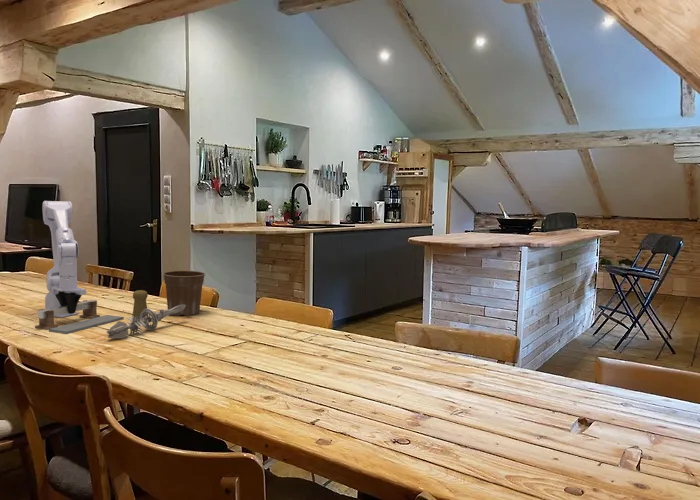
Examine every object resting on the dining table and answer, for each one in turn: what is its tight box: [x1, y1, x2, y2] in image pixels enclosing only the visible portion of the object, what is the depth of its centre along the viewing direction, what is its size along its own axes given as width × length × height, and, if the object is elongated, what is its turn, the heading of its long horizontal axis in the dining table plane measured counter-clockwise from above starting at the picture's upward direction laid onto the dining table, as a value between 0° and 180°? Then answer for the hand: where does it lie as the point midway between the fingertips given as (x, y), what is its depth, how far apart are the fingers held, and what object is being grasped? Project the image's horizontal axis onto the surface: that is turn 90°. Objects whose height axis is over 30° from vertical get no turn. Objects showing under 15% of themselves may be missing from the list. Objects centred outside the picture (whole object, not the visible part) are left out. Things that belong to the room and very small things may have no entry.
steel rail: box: [36, 299, 98, 319], centre depth 203 cm, size 2×24×2 cm, turn 159°
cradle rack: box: [34, 300, 101, 331], centre depth 203 cm, size 6×23×6 cm, turn 159°
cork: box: [131, 289, 149, 320], centre depth 210 cm, size 6×6×11 cm
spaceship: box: [106, 304, 186, 339], centre depth 194 cm, size 8×35×8 cm
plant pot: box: [162, 270, 206, 317], centre depth 223 cm, size 16×16×16 cm
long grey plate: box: [48, 314, 125, 335], centre depth 200 cm, size 8×26×1 cm, turn 159°
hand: (68, 313), depth 203 cm, fingers closed on steel rail, 2 cm apart
